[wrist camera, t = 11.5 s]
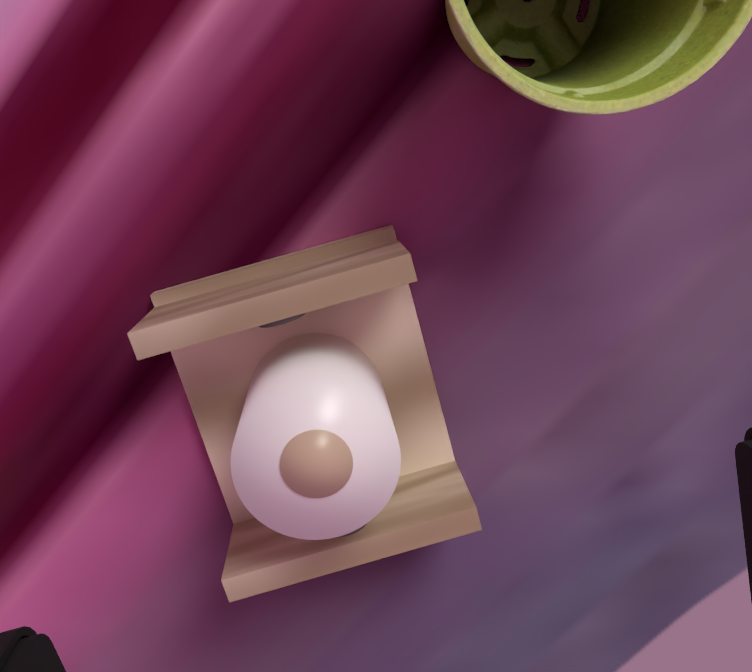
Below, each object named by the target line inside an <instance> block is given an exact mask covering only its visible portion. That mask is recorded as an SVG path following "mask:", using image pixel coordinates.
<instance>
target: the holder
mask: <svg viewBox="0 0 752 672" xmlns="http://www.w3.org/2000/svg"><path fill="white" fill-rule="evenodd" d="M416 281H417V277H416V273H415V269H414V265H413V261H412V257H411V254H410V252H409V251H408V250H407V249H406V248H405V247H404V246H403V245H402V244H401V243H400V242H399V241H398V240H397V238H396V234H395V230H394V227H393V226H392V225H389V226H385V227H381V228H378V229H374V230H371V231H367V232H364V233H360V234H357V235H353V236H350V237H346V238H343V239H339V240H335V241H332V242H328V243H325V244H321V245H318V246H314V247H311V248H307V249H304V250H300V251H297V252H293V253H289V254H286V255H282V256H279V257H275V258H272V259H268V260H265V261H261V262H258V263H254V264H251V265H247V266H244V267H240V268H236V269H233V270H229V271H226V272H222V273H219V274H215V275H212V276H208V277H205V278H201V279H198V280H194V281H190V282H187V283H183V284H180V285H176V286H173V287H169V288H166V289H162V290H159V291H155V292H154V293H152V294H151V295H150V297H151V300H152V302H153V305H154V308H153V309H152V310H151V311H150V312H149V313H148V314H147V315H146V316H145V317H144V318H143V319H142V320H141V321H140V322H139V323H138V324H137V325H135V326H134V327H133V328H132V329H131V330H130V331H129V332H128V333H127V334H128V337H129V339H130V342H131V345H132V347H133V350H134V353H135V355H136V358H137V360H141V359H145V358H148V357H152V356H155V355H159V354H162V353H166V352H169V351H170V352H171V354H172V357H173V360H174V363H175V365H176V368H177V371H178V373H179V376H180V379H181V382H182V384H183V387H184V390H185V393H186V395H187V398H188V401H189V404H190V406H191V409H192V412H193V415H194V417H195V420H196V423H197V426H198V428H199V431H200V434H201V436H202V439H203V442H204V445H205V447H206V450H207V453H208V456H209V458H210V461H211V464H212V467H213V469H214V472H215V475H216V478H217V480H218V483H219V486H220V488H221V491H222V494H223V497H224V499H225V502H226V505H227V508H228V510H229V513H230V516H231V519H232V521H233V529H232V533H231V538H230V542H229V547H228V551H227V556H226V560H225V565H224V569H223V574H222V578H221V582H222V584H223V587H224V590H225V592H226V595H227V597H228V600H229V603H230V602H233V601H237V600H240V599H243V598H247V597H250V596H254V595H257V594H261V593H264V592H268V591H271V590H275V589H278V588H282V587H285V586H289V585H292V584H295V583H299V582H302V581H306V580H309V579H313V578H316V577H320V576H323V575H327V574H330V573H334V572H337V571H341V570H344V569H348V568H351V567H354V566H358V565H361V564H365V563H368V562H372V561H375V560H379V559H382V558H386V557H389V556H393V555H396V554H400V553H403V552H407V551H410V550H413V549H417V548H420V547H424V546H427V545H431V544H434V543H438V542H441V541H445V540H448V539H452V538H455V537H459V536H462V535H465V534H469V533H472V532H476V531H479V530H482V528H481V524H480V520H479V516H478V512H477V508H476V506H475V503H474V501H473V499H472V497H471V495H470V492H469V490H468V488H467V486H466V484H465V481H464V479H463V477H462V475H461V473H460V470H459V468H458V466H457V464H456V462H455V458H454V455H453V451H452V447H451V443H450V439H449V436H448V432H447V428H446V424H445V420H444V417H443V413H442V409H441V405H440V401H439V398H438V394H437V390H436V386H435V382H434V379H433V375H432V371H431V367H430V363H429V359H428V356H427V352H426V348H425V344H424V340H423V337H422V333H421V329H420V325H419V321H418V318H417V314H416V310H415V306H414V302H413V299H412V295H411V291H410V287H409V283H412V282H416ZM308 333H325V334H331V335H335V336H338V337H341V338H344V339H346V340H348V341H350V342H352V343H353V344H355V345H356V346H358V347H359V348H360V349H361V350H363V351H364V352H365V353H366V355H367V356H368V357H369V358H370V359H371V361H372V362H373V363H374V365H375V367H376V369H377V371H378V373H379V376H380V379H381V382H382V385H383V389H384V392H385V396H386V399H387V403H388V406H389V410H390V413H391V417H392V420H393V424H394V427H395V431H396V434H397V438H398V441H399V446H400V452H401V468H400V474H399V479H398V482H397V485H396V488H395V490H394V492H393V494H392V496H391V498H390V500H389V501H388V503H387V504H386V505H385V507H384V508H383V509H382V510H381V511H380V512H379V513H378V515H377V516H375V517H374V518H373V519H372V520H371V521H370V522H368V523H367V524H365V525H364V526H362V527H361V528H359V529H357V530H355V531H353V532H351V533H348V534H345V535H343V536H340V537H335V538H331V539H323V540H305V539H298V538H293V537H290V536H286V535H283V534H281V533H278V532H276V531H274V530H272V529H270V528H268V527H267V526H265V525H264V524H262V523H261V522H260V521H258V520H257V519H256V518H255V517H254V516H253V515H252V514H251V513H250V512H249V511H248V509H247V508H246V507H245V506H244V504H243V503H242V501H241V499H240V498H239V496H238V494H237V492H236V489H235V487H234V483H233V480H232V475H231V467H230V462H231V451H232V445H233V442H234V438H235V435H236V431H237V428H238V424H239V421H240V417H241V413H242V410H243V406H244V403H245V399H246V396H247V392H248V389H249V385H250V382H251V379H252V375H253V373H254V371H255V369H256V367H257V365H258V364H259V362H260V361H261V359H262V358H263V357H264V356H265V355H266V354H267V353H268V352H269V351H270V350H271V349H272V348H273V347H275V346H276V345H278V344H279V343H281V342H283V341H285V340H287V339H289V338H292V337H294V336H298V335H302V334H308Z"/></svg>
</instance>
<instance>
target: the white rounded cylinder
mask: <svg viewBox="0 0 752 672" xmlns="http://www.w3.org/2000/svg"><path fill="white" fill-rule="evenodd" d="M230 467H231V475H232V480H233V483H234V487H235V489H236V492H237V494H238V496H239V498H240V499H241V501H242V503H243V504H244V506H245V507H246V508H247V509H248V511H249V512H250V513H251V514H252V515H253V516H254V517H255V518H256V519H257V520H258V521H260V522H261V523H262V524H264V525H265V526H267V527H268V528H270V529H272V530H274V531H276V532H278V533H281V534H283V535H286V536H290V537H293V538H298V539H305V540H323V539H331V538H335V537H340V536H343V535H345V534H348V533H351V532H353V531H355V530H357V529H359V528H361V527H362V526H364V525H365V524H367V523H368V522H370V521H371V520H372V519H373V518H374V517H375V516H377V515H378V513H379V512H380V511H381V510H382V509H383V508H384V507H385V505H386V504H387V503H388V501H389V500H390V498H391V496H392V494H393V492H394V490H395V488H396V485H397V482H398V479H399V474H400V468H401V452H400V446H399V441H398V438H397V434H396V431H395V427H394V424H393V420H392V417H391V413H390V410H389V406H388V403H387V399H386V396H385V392H384V389H383V385H382V382H381V379H380V376H379V373H378V371H377V369H376V367H375V365H374V363H373V362H372V361H371V359H370V358H369V357H368V356H367V355H366V353H365V352H364V351H363V350H361V349H360V348H359V347H358V346H356V345H355V344H353V343H352V342H350V341H348V340H346V339H344V338H341V337H338V336H335V335H331V334H325V333H308V334H302V335H298V336H294V337H292V338H289V339H287V340H285V341H283V342H281V343H279V344H278V345H276V346H275V347H273V348H272V349H271V350H270V351H269V352H268V353H267V354H266V355H265V356H264V357H263V358H262V359H261V361H260V362H259V364H258V365H257V367H256V369H255V371H254V373H253V375H252V379H251V382H250V385H249V389H248V392H247V396H246V399H245V403H244V406H243V410H242V413H241V417H240V421H239V424H238V428H237V431H236V435H235V438H234V442H233V445H232V451H231V462H230Z"/></svg>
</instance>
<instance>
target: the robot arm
mask: <svg viewBox="0 0 752 672" xmlns="http://www.w3.org/2000/svg"><path fill="white" fill-rule="evenodd" d="M735 458H736V467H737V476H738V485H739V494H740V503H741V512H742V521H743V530H744V539H745V548H746V556H747V565H748V573H749V583H750V592H751V601H752V428H749V429H748V430H747V431H746V434H745V437H744V442H740V443H738V444H737V445H736V448H735ZM0 672H66V671H65V669H64V667H63V664H62V662H61V660H60V658H59V656H58V654H57V652H56V650H55V648H54V646H53V643H52V642H51V640H50V638H49V637H48V636H46V635H45V634H38V635H37V634H36V632H35V631H34V630H33V629H31V628H30V627H25V626H24V627H20V628H17V629H13V630H9V631H6V632H2V633H0Z"/></svg>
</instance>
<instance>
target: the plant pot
mask: <svg viewBox="0 0 752 672" xmlns="http://www.w3.org/2000/svg"><path fill="white" fill-rule="evenodd" d="M580 3H581V0H531V1H529V2H525V1H523V0H468V5H467V7H466V5H465V2H464V0H445V5H446V14H447V18H448V23H449V26H450V29H451V31H452V34H453V36H454V38H455V40H456V41H457V43H458V44H459V46H460V48H461V49H462V50H463V52H464V53H465V54H466V55H467V56H468V58H469V59H470V60H471V61H472V62H473V63H474V64H475V65H476V66H478V67H479V68H481V69H482V70H483V71H485V72H487V73H489V74H491V75H493V76H496V77H497V78H498V79H499V80H500V81H501V82H503V83H504V84H505V85H507V86H508V87H509V88H511V89H512V90H513V91H515V92H516V93H518V94H520V95H522V96H524V97H525V98H527V99H529V100H531V101H533V102H535V103H538V104H540V105H543V106H546V107H549V108H552V109H555V110H559V111H564V112H569V113H574V114H586V115H603V114H616V113H622V112H627V111H632V110H636V109H640V108H643V107H646V106H649V105H652V104H654V103H657V102H659V101H662V100H664V99H666V98H668V97H670V96H672V95H674V94H676V93H678V92H679V91H681V90H683V89H684V88H686V87H687V86H689V85H690V84H691V83H693V82H694V81H696V80H697V79H698V78H700V77H701V76H702V75H703V74H704V73H706V72H707V71H708V70H709V69H710V68H711V67H713V66H714V65H715V64H716V63H717V62H718V61H719V60H720V59H721V58H722V57H723V56H724V55H725V54H726V53H727V51H728V50H729V49H730V48H731V47H732V46H733V44H734V43H735V42H736V40H737V39H738V38H739V36H740V35H741V34H742V32H743V30H744V29H745V27H746V26H747V24H748V23H749V21H750V19H751V17H752V0H589V8H588V12H587V15H586V18H585V19H584V20H583V22H577V19H576V17H577V14H578V11H579V6H580ZM501 56H507V57H512V58H519V59H533V60H534V63H533V64H532V65H531V66H530V67H522V68H520V67H511V66H510V65H508V64H507V63H506V62H505V61H503V60H502V59H501Z"/></svg>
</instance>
